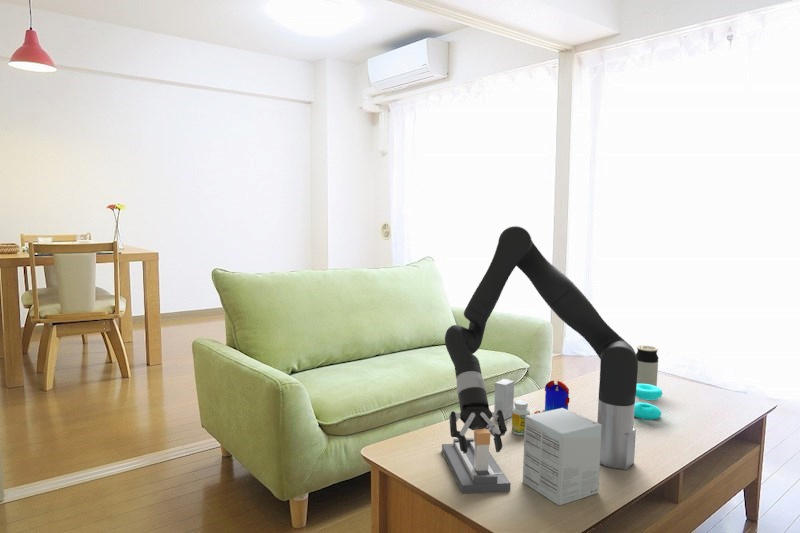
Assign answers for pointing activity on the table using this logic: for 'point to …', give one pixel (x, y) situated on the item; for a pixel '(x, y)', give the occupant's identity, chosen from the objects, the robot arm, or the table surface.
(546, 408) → the fantasy tower
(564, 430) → the supplement box
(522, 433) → the supplement bottle
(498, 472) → the grey rail track base
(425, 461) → the table surface
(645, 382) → the travel mug
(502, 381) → the skincare box
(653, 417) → the donuts
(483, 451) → the fader
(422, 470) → the table surface
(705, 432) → the table surface
